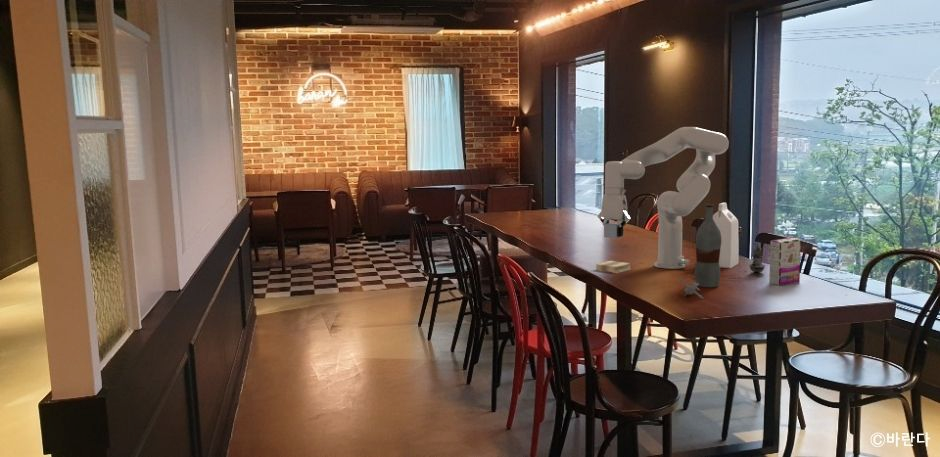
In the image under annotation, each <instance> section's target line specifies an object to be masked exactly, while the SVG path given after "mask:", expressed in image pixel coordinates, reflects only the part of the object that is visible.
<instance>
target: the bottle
mask: <svg viewBox="0 0 940 457" xmlns="http://www.w3.org/2000/svg"><path fill="white" fill-rule="evenodd" d="M713 215H714V204H712V203H706V204H705V218H704V220H703V221H702V223H701V224H700V225H699V227H698V228H697V231H696V233H695V239H694V240H695V256H696V258H695V259H696V262H695V265H694V266H695V268H694V275H693V276H694V283H695V282H696V283H697V285H698V284H699V285H698V286H697V287H701V288H702V287H703V288H716V287H719V285H720V281H721V280H720V279H721V267H720V265H719V258H720V249H721V242H722V240H721V232H720V230H719V228H718V227H717V225H716V223H715V222H714V220H713Z"/></svg>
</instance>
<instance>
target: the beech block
mask: <svg viewBox="0 0 940 457" xmlns="http://www.w3.org/2000/svg"><path fill="white" fill-rule="evenodd" d="M595 270H596V271H600V272H605V273H611V272H612V273H613V274H619V273H622V272H623V273H624V272H626V271H631V262H623V261H617V260H616V261H615V260H608V261H602V262H598V263H596V264H595Z"/></svg>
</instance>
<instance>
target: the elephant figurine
mask: <svg viewBox="0 0 940 457" xmlns="http://www.w3.org/2000/svg"><path fill="white" fill-rule="evenodd" d="M679 282H681V283H682V284H683V285H685V288H684V290H683V291H684V292H685V294H684V296H683V298H684V297H686V296H687V295H693V294H695V295H697V297H699V298H700V299H701V300H704V297H703V296H704V295H703V294H702V295H701V294H700V293H698V292H697V291H700V288H699V286H698V285H699V284H698V285H697V283H696V282H695V281H694V283H693V282H691V281H689V283H690V285H689V284H687V282H685V279H682V278H680V279H679Z"/></svg>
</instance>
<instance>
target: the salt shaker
mask: <svg viewBox="0 0 940 457" xmlns="http://www.w3.org/2000/svg"><path fill="white" fill-rule="evenodd" d="M752 257H753V258H752V260H753V261H752V263H751V264H748V265H749V269H750V271H751V272H750V273H749V276H754V277H762V276H764V275H765V274H764V273H763V271H764V269H765V267H766V265H764V264H762V263H763V262H762V257H763V256H762V247H761V246H759V244H757V246H755V247H754V248H753V255H752Z"/></svg>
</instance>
